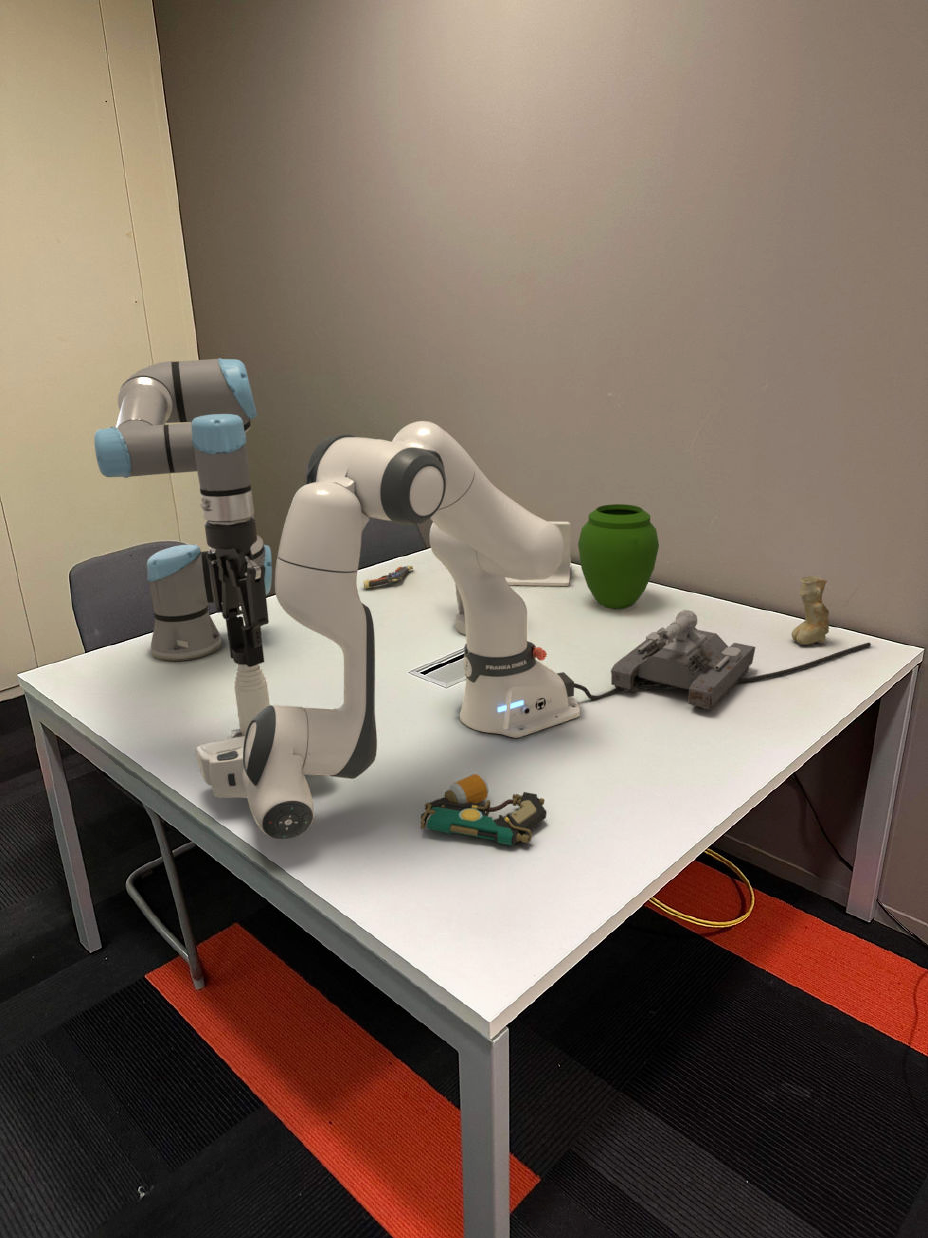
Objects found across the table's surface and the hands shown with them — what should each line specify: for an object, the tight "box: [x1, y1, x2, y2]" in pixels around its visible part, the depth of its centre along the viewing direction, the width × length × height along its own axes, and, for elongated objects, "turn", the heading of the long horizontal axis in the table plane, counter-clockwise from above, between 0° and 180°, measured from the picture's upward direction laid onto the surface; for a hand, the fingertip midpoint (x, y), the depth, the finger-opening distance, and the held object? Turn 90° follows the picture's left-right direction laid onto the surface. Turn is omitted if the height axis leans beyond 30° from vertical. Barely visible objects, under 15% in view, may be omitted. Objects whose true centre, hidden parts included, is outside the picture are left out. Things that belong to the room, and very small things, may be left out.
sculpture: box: [791, 575, 830, 646], centre depth 185 cm, size 6×7×15 cm
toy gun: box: [362, 565, 414, 589], centre depth 238 cm, size 3×19×10 cm
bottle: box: [234, 664, 271, 736], centre depth 141 cm, size 5×5×21 cm
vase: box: [577, 503, 660, 610], centre depth 210 cm, size 20×20×24 cm
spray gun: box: [420, 773, 547, 846], centre depth 126 cm, size 4×17×15 cm
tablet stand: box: [505, 521, 572, 587], centre depth 236 cm, size 18×25×17 cm
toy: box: [610, 609, 756, 711], centre depth 169 cm, size 25×20×15 cm
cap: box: [232, 644, 247, 665], centre depth 138 cm, size 4×4×2 cm
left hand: (247, 659), depth 138 cm, fingers closed on cap, 4 cm apart
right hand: (255, 729), depth 144 cm, fingers closed on bottle, 5 cm apart
